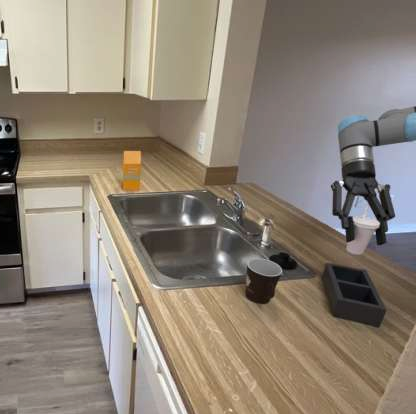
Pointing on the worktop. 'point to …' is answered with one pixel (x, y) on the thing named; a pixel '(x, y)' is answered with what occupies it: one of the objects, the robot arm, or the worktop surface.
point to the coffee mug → (261, 280)
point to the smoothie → (362, 232)
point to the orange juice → (131, 170)
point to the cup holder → (352, 295)
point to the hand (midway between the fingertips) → (365, 242)
